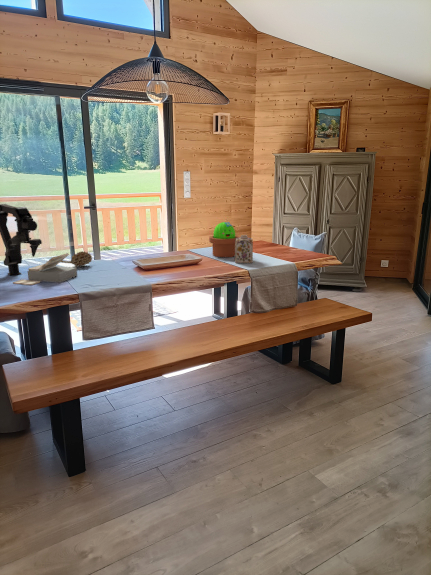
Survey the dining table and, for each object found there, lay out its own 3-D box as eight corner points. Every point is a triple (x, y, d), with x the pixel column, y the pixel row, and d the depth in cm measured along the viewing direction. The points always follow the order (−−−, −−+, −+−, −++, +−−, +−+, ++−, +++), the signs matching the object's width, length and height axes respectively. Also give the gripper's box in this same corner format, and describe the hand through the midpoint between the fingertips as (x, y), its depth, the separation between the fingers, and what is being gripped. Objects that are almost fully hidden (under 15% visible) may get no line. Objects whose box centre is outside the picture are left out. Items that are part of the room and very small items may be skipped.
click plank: (39, 271, 237) (38, 269, 237) (55, 265, 250) (54, 264, 250) (53, 259, 232) (51, 257, 232) (69, 254, 245) (68, 253, 245)
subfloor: (28, 279, 240) (27, 268, 238) (47, 273, 255) (46, 263, 253) (59, 282, 233) (58, 271, 232) (77, 275, 248) (76, 265, 246)
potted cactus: (206, 253, 313) (205, 220, 306) (233, 251, 320) (233, 219, 313) (214, 259, 293) (214, 223, 286) (243, 257, 299) (244, 222, 293)
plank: (13, 284, 232) (12, 282, 232) (22, 281, 239) (22, 279, 238) (31, 286, 228) (31, 284, 228) (40, 283, 235) (40, 281, 234)
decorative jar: (252, 263, 279) (253, 236, 274) (235, 263, 280) (235, 236, 275) (251, 259, 291) (252, 234, 286) (234, 259, 291) (235, 234, 286)
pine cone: (92, 264, 280) (90, 249, 277) (93, 267, 271) (92, 252, 268) (57, 266, 272) (55, 252, 269) (57, 270, 263) (55, 254, 261)
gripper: (-2, 230, 231) (2, 258, 235) (27, 232, 226) (31, 259, 231) (12, 228, 241) (16, 254, 245) (40, 229, 237) (43, 256, 241)
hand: (26, 256), depth 240 cm, fingers open, 9 cm apart
